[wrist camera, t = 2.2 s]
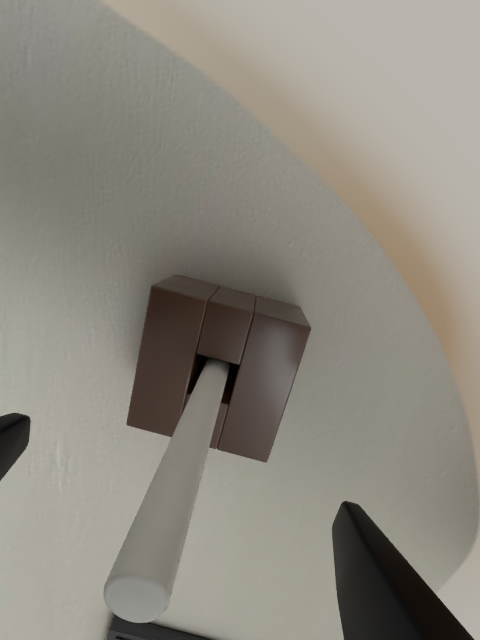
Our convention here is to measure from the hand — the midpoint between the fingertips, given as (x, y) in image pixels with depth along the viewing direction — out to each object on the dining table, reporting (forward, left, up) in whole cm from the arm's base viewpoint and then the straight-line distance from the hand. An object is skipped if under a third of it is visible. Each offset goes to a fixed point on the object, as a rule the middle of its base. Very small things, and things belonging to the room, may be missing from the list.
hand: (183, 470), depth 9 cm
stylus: (0, 0, -10) cm, 10 cm away
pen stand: (0, 0, -10) cm, 10 cm away
